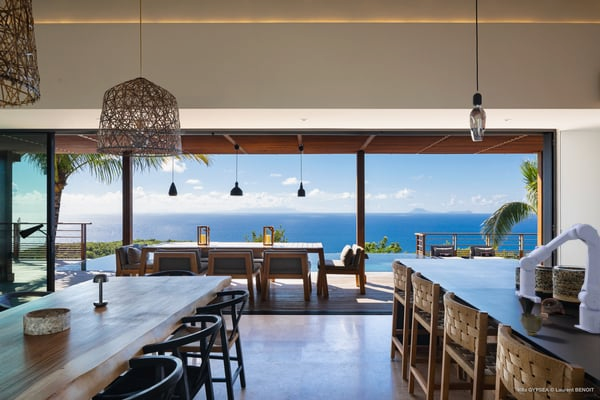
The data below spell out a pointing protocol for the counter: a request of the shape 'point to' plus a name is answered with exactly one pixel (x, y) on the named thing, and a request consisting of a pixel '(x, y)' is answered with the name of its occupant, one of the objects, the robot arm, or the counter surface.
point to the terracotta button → (544, 315)
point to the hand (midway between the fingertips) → (527, 315)
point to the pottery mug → (552, 306)
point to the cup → (532, 323)
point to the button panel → (542, 321)
